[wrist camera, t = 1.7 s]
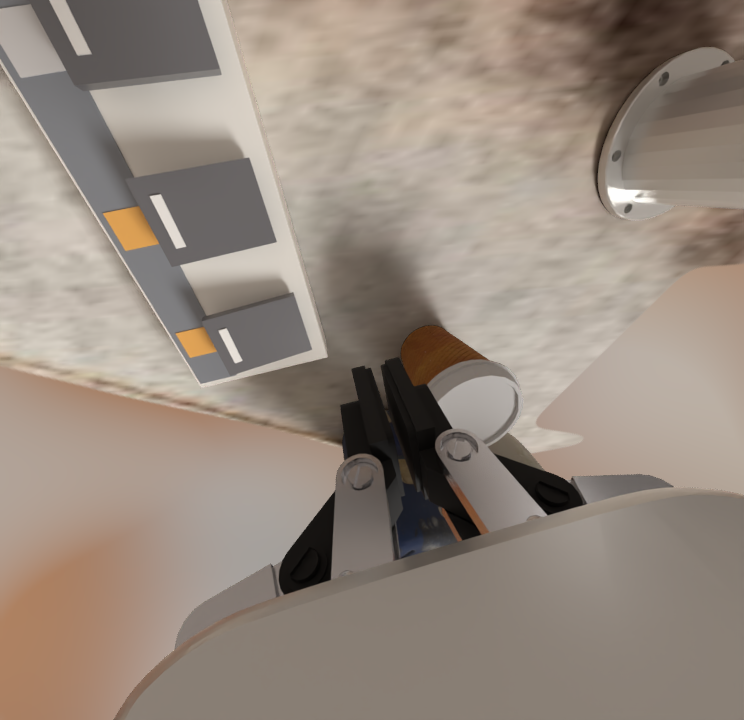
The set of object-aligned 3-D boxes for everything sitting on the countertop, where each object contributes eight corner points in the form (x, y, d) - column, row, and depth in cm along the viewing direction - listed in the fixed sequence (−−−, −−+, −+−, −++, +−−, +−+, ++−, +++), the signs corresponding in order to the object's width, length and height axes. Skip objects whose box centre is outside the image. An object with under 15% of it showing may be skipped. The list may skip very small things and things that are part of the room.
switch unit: (207, -68, 17) (176, -146, 13) (325, 338, 31) (328, 360, 27) (-14, -38, 16) (-120, -110, 12) (213, 365, 30) (199, 392, 26)
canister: (327, 426, 38) (340, 588, 23) (391, 392, 37) (450, 537, 22) (361, 465, 43) (391, 618, 28) (419, 436, 42) (482, 578, 27)
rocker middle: (249, 159, 19) (249, 157, 18) (276, 240, 21) (277, 242, 21) (130, 180, 17) (124, 179, 16) (175, 264, 20) (171, 267, 19)
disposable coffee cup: (440, 294, 31) (503, 347, 21) (477, 351, 36) (543, 416, 26) (370, 347, 33) (398, 420, 23) (414, 395, 38) (453, 472, 28)
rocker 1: (175, -67, 14) (170, -85, 13) (221, 75, 17) (220, 68, 16) (2, -63, 13) (-17, -83, 12) (83, 91, 15) (73, 84, 14)
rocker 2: (293, 292, 24) (294, 295, 23) (310, 344, 26) (312, 350, 25) (202, 316, 22) (200, 322, 21) (231, 369, 25) (230, 376, 24)
